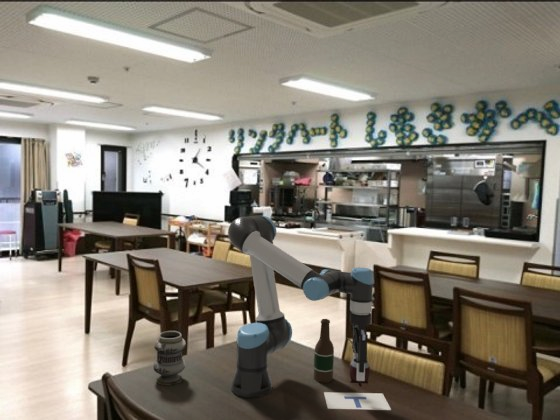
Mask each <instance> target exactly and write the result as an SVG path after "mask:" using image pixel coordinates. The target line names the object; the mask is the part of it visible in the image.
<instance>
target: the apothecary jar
mask: <svg viewBox="0 0 560 420" xmlns="http://www.w3.org/2000/svg"><path fill="white" fill-rule="evenodd" d="M182 336H183V335H182V333H181V332H180V331H177V330H167V331H163V332H161V333H159V335H158V338H157V339H156V340H155V341H154V344H153V346H154V349H155V351H156V360H155V361H154V363H153V366H152V367H153V370H154V372H155V373H157V374H158V375H159V376H157V377H156V379H155V381H156V383H157V384H159V385H161V386H171V385H177V384H179V383H181V382H182V380H183V377H182V375H180V373H182V372H183V371H184V369H185V368H186V365H187V364H186V361H185V360H184V358H183V350H184V349H185V347H186V344H187V343H186V340H185V339H184V338H183V337H182Z"/></svg>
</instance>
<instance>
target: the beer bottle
mask: <svg viewBox="0 0 560 420" xmlns="http://www.w3.org/2000/svg"><path fill="white" fill-rule="evenodd" d="M320 323H321V324H320V334H319V339H318V341H317V342H316V344H315V346H314V356H313V358H314V359H313V380H315V382H318V383H323V384H327V383H331V382H332V380H333V376H334V360H335V357H334V356H335V351H334V349H335V347H334V344H333V342H332V341H331V337H330V334H331V333H330V324H331V321H330V319H328V318H322V319H321V320H320Z"/></svg>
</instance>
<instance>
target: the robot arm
mask: <svg viewBox="0 0 560 420" xmlns="http://www.w3.org/2000/svg"><path fill="white" fill-rule="evenodd" d="M227 231H228V232H227V236H228V239H229V241H230V243H231V244H232V245H233V246H234V247H235V249H237V250H239V251H240V252H242V253H243V254H245V255H249V261H250V266H251V271H252V279H253V287H254V292H255V297H256V298H255V299H256V304H257V305H256V306H257V311H258V312H257V316H256V317H255V322H252V323H246V324H244V325H242V326H241V327H239V329H238V330H237V337H236V369H235V372H234V375H233V377H232V380H231V383H230V385H231V387H230V388H231V391H232V393H233V394H235V395H236V396H239V397H242V398H248V399H249V398H251V399H253V398H260V397H264V396H267V395H268V394H270V393H271V392H272V387H273V386H272V385H273V383H272V380H271V375H270V371H269V369H268V364H269V356H271V355H272V354H274V353H275V352H278V351H279V350H282V349H284V348H285V347H286V346H287V345H288V344H289V343H290V341H291V340H292V337H293V329H292V325H291V323H290V322H289V321H288V319H286V318H285V313H284V312H282V311H281V310H280V303H279V297H278V292H277V291H278V290H277V284H276V277H275V272H276V273H278V274H280V275H281V276H282V277H284V278H285V279H287V280H288V281H290V282H292V283H293V284H294V285H295V286H298V287H299V288H300V289H302V291H303V294H304V296H305V297H306V298H307V300H310V301H313V302H317V301H320V300H324V299H325V298H327V297H329V296H331V295H334V294H336V293H343V294H348V295H350V301H349V311H350V313H349V322H350V324H351V325H352V328H353V329H352V340H351V341H352V342H353V344H354V346H355V350H356V354H357V358H358V361H356V363H357V379H356V380H357V381H365V363H367V361H368V338H369V336H368V334H367V333H368V331H367V329H366V326H370V325H371V324H372V308H373V306H374V303H373V286H374V279H373V278H374V274H373V270H371V268H366V267H360V266H359V267H358V266H357V267H352V269H351V272H349V271H341V270H336V269H335V270H334V269H322V270H321V271H320V273H318V272H317V271H315V270H314V269H312V268H311V267H309V266H308V265H306V264H304V263H303V262H302V261H300V260H298V259H297V258H295V257H293V256H292V255H290V254H289V253H287V252H286V251H284V250H282V249H281V248H280V247H278V246H276V245H275V244H274V242H273V241H274V240H275V237H276V236H277V227H276V224H275V222H274V221H273V220H272V219H271V218H270V217H269V216H265V215H259V214H258V215H250V216H241V217H237V218H235V219H234V220H233V221H232V222H231V223H230V225H229V227H228V229H227ZM274 271H275V272H274ZM351 349H352V360H353V359H355V358H356V356H355V352H354V349H353V346H352V345H351Z"/></svg>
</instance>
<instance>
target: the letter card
mask: <svg viewBox="0 0 560 420" xmlns="http://www.w3.org/2000/svg"><path fill="white" fill-rule="evenodd" d="M323 394H324V398H325V402H326V407H327V410H359V411H360V410H365V411H369V410H370V411H392V408H391V406H390V404H389V403H388V400H387V399H386V397H385V396H384V393H375V392H374V393H373V392H330V391H329V392H328V391H323Z"/></svg>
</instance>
